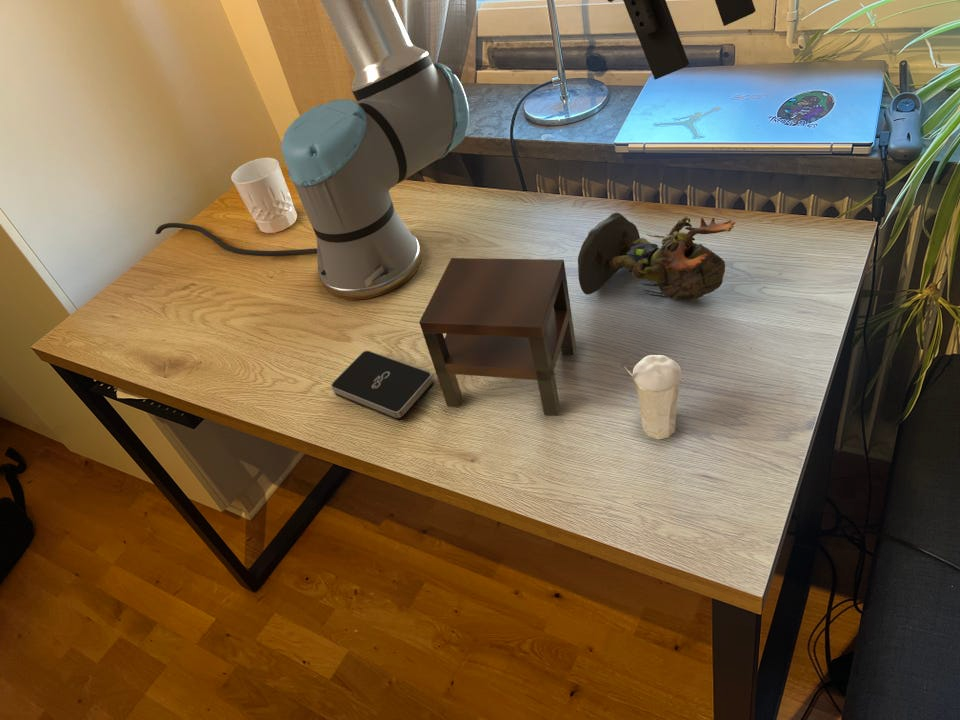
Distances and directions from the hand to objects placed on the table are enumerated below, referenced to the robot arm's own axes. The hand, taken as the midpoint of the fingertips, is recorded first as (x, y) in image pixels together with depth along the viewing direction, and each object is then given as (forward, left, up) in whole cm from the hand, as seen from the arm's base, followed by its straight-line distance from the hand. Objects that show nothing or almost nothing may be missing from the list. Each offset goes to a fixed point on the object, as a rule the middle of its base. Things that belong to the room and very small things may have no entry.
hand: (708, 44), depth 59 cm
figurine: (-7, +10, -34) cm, 36 cm away
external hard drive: (-36, -11, -34) cm, 51 cm away
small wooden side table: (-21, -7, -34) cm, 40 cm away
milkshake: (-4, -13, -34) cm, 37 cm away
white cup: (-71, +25, -34) cm, 82 cm away
